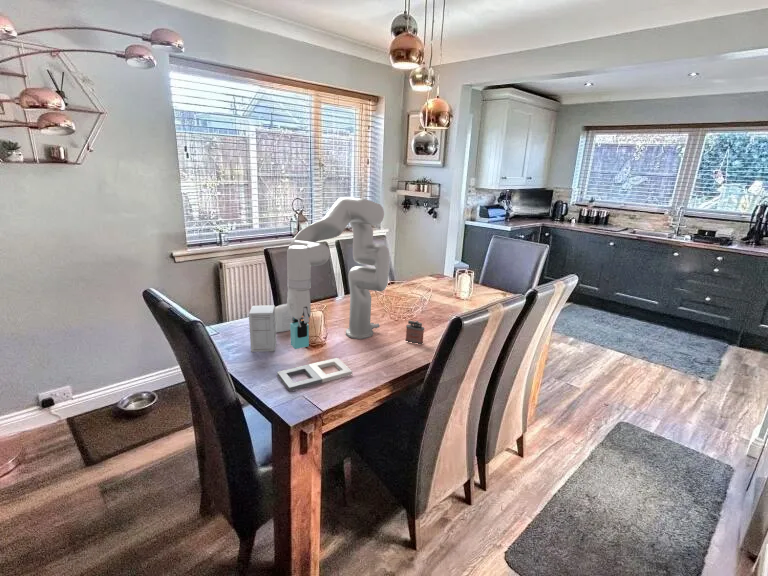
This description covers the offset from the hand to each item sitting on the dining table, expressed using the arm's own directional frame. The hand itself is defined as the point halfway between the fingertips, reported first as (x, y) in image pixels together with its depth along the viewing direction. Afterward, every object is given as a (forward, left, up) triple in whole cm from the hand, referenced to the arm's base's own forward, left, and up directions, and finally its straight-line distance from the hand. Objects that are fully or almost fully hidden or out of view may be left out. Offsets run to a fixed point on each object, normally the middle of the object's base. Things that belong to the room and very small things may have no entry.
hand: (299, 333), depth 136 cm
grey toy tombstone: (-11, -44, -18) cm, 49 cm away
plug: (0, 0, -4) cm, 4 cm away
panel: (-6, 0, -17) cm, 18 cm away
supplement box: (+3, -31, -18) cm, 36 cm away
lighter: (-56, -6, -18) cm, 59 cm away
